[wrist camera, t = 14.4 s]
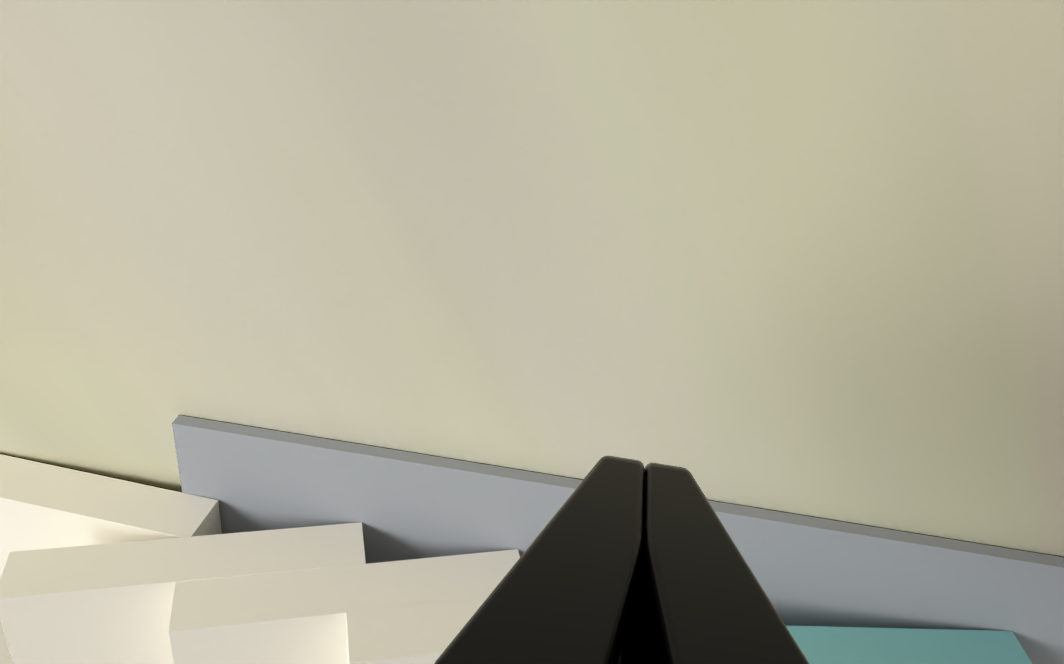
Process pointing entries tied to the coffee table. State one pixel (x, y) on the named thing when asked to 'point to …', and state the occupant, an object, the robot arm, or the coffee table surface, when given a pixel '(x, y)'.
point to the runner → (534, 498)
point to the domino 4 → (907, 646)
